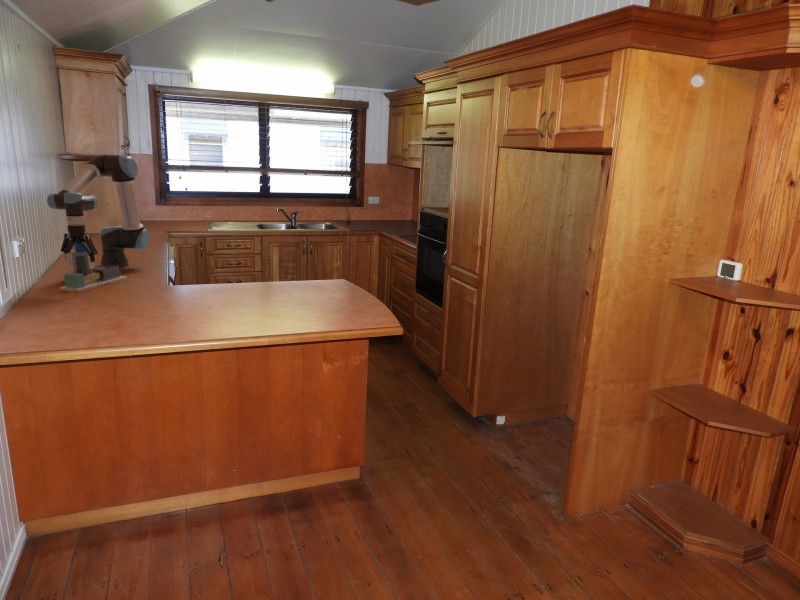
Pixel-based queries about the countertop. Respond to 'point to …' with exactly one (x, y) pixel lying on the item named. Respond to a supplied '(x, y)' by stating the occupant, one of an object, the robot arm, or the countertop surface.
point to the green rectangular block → (74, 280)
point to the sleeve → (108, 272)
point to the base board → (94, 284)
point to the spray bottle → (80, 252)
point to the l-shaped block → (82, 269)
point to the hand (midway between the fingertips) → (80, 267)
